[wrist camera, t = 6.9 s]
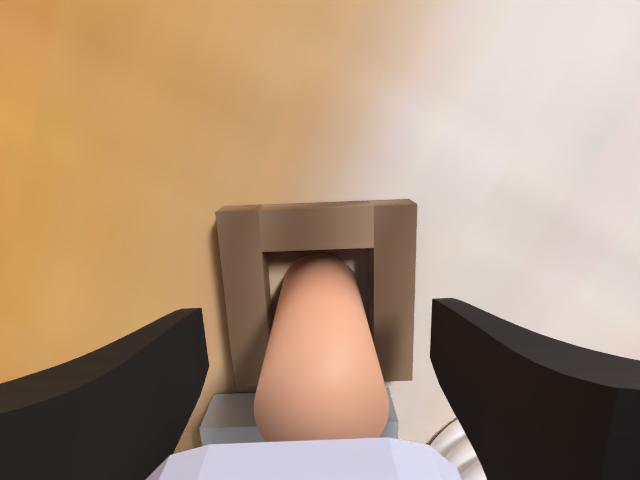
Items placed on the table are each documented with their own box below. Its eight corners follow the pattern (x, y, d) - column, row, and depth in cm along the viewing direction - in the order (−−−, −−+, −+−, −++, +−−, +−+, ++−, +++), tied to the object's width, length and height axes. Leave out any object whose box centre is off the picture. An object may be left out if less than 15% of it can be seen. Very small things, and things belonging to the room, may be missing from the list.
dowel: (356, 252, 15) (390, 347, 8) (357, 321, 15) (388, 463, 9) (280, 254, 15) (248, 352, 8) (284, 324, 15) (259, 467, 9)
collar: (409, 199, 14) (417, 204, 13) (405, 362, 16) (412, 380, 15) (223, 206, 14) (214, 212, 13) (240, 368, 16) (234, 386, 15)
